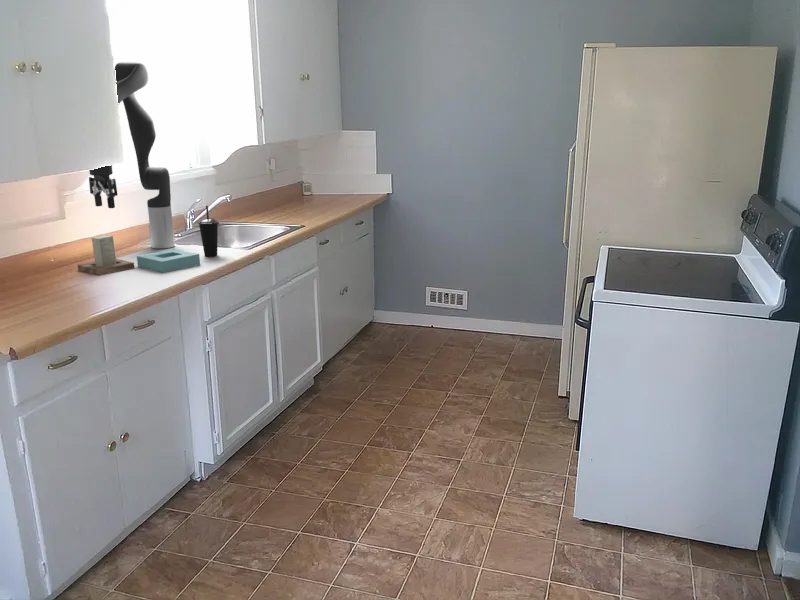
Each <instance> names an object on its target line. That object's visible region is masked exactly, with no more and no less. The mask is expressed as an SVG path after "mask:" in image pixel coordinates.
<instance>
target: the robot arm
mask: <svg viewBox="0 0 800 600" xmlns="http://www.w3.org/2000/svg"><path fill="white" fill-rule="evenodd" d="M115 70H116V79H115V83H116V84H117V95H118V103H119V104H120V103H122V102H123V106H124V109H125V113H126V118H127V122H128V128H129V131H130V137H131V139H132V143H133V146H134V147H133V148H134V151H135V155H136V156H135V157H136V161H137V168H138V175H139V180H140V183H141V186H142V188H143V189H144V190H147V191H158V194H157V195H156V196H154V197H151V198H149V199H147V201H146V205H147V212H148V213H147V214H148V221H149V224H148V230H149V231H148V232H149V239H150V247H151V248H152V249H159V250H160V249H172V248H174V247H175V243H176V242H175V235H174V232H175V231H174V223H173V213H172V205H171V200H172V199H171V198H172V194H171V179H170V173H169V170H168V169H167V168H166V167H162V166H161V167H160V166H157V167H153V166H152V167H151V166H150V162H149V158H150V157H149V156H150V154H151V153H150V152H151V150H152V148H153V146H154V143H155V140H156V138H157V137H156V136H157V134H156V130H155V125H154V120H153V118H152V117H151V115H150V113H148V111H147V110H146V109H145V108H144V106H143V105H142V104H141V103H140V102H139V100H138V99H137V97H136V94H135V92H138V91H139V90H141V89H143V88H144V87H145V86H146V85H147V84H148V82H149V71H148V69H147V67H146V65H144V64H143V63H141V62H133V61H131V62H127V61H126V62H122V61H121V62H117V63H116V64H115V67H114V71H115ZM116 81H117V82H116ZM88 170H89V169H88ZM89 175H90V177H88V183H89V184H88V185H89V194H90V195H92V196H93V197H94V202H95V203H94V204H95V207H103V201H102V192H103V193H104V194H105V195H106V200H107V207H108V209H114V208H115V206H116V205H115V197H116V196H118V187H117V180H116V178H111V177H110V176H112V175H113V165H111V166H105V167H101V168H98V169H94V170H89Z"/></svg>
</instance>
